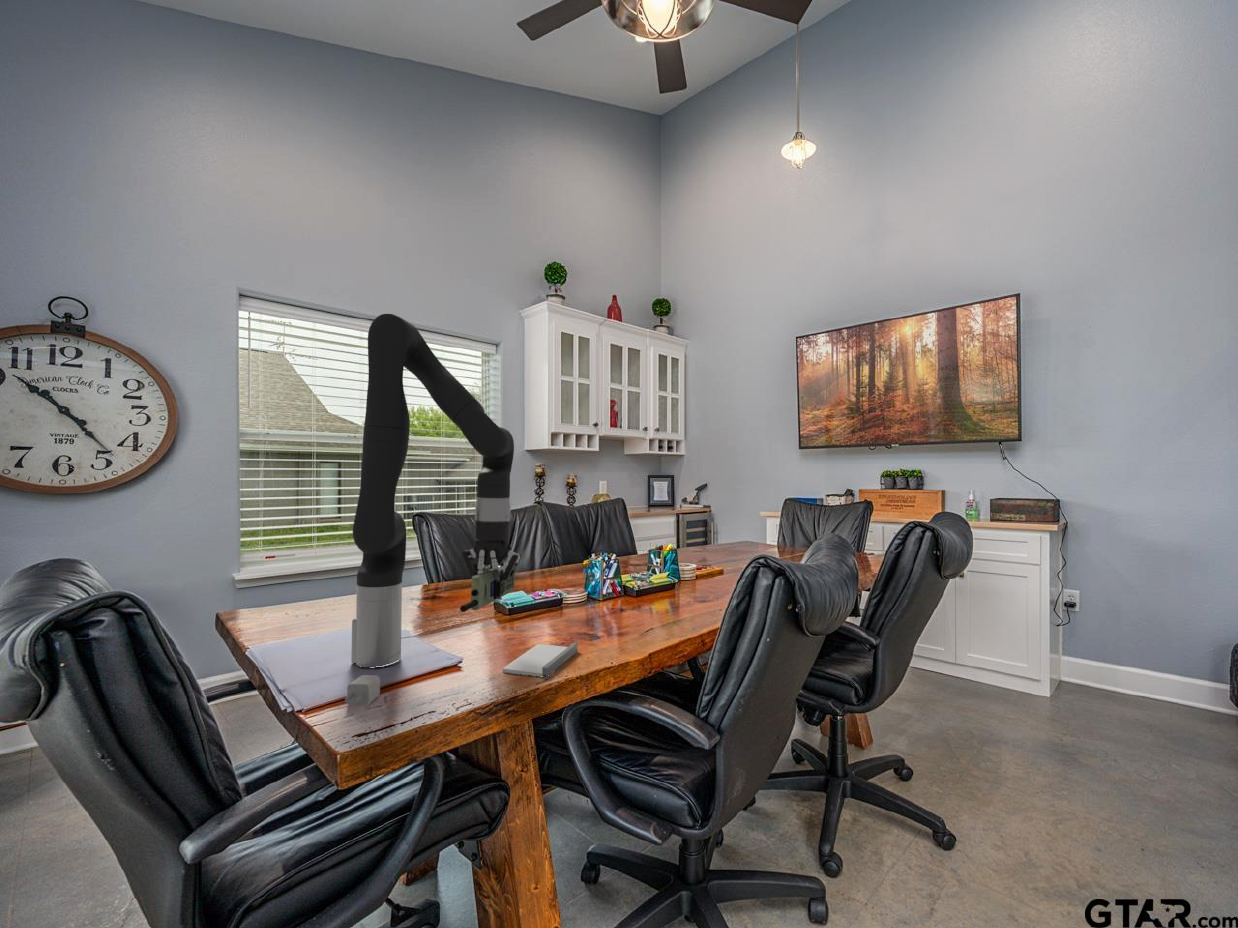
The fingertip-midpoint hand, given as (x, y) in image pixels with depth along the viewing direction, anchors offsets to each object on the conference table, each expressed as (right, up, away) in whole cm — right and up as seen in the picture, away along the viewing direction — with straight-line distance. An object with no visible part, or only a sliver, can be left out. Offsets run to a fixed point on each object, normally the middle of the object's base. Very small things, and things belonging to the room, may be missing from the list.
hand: (490, 597), depth 127 cm
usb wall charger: (-19, -15, -21) cm, 32 cm away
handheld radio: (-1, -1, 0) cm, 1 cm away
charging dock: (+11, -15, +3) cm, 19 cm away
